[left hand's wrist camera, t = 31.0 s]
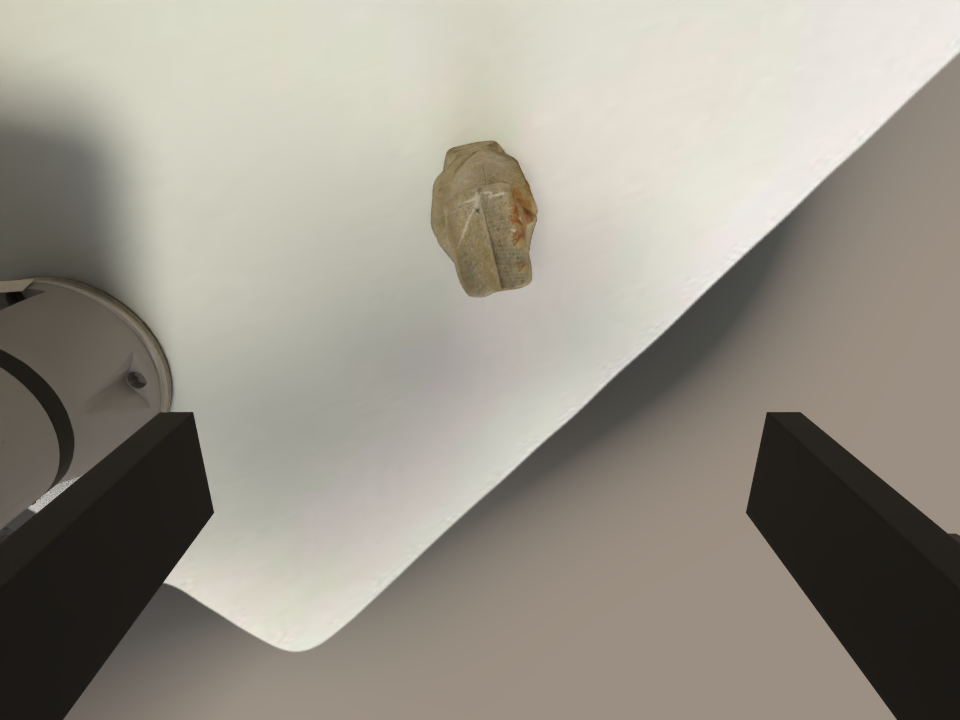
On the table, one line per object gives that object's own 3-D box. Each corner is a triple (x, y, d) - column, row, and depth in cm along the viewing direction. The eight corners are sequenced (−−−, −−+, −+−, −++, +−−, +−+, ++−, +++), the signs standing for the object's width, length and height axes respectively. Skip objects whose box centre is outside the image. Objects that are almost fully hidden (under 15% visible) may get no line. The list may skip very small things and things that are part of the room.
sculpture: (450, 255, 40) (433, 314, 26) (431, 150, 37) (402, 151, 23) (530, 243, 39) (557, 295, 25) (517, 136, 37) (540, 128, 23)
